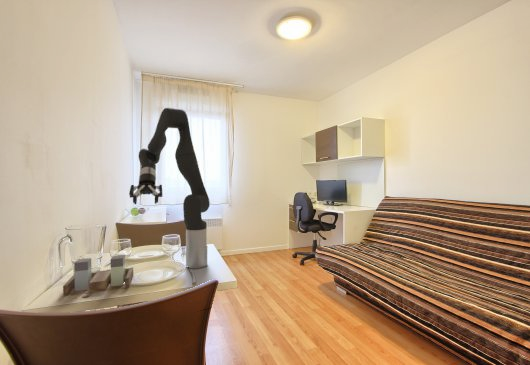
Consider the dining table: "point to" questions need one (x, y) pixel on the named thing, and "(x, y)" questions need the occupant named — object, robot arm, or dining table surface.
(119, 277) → the grey upright block
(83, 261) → the block
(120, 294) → the dining table surface
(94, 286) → the comb rack
